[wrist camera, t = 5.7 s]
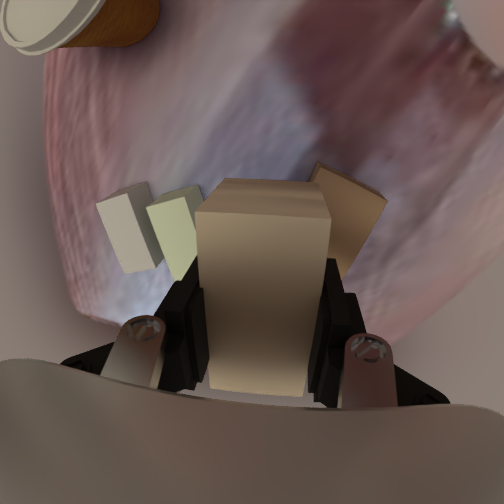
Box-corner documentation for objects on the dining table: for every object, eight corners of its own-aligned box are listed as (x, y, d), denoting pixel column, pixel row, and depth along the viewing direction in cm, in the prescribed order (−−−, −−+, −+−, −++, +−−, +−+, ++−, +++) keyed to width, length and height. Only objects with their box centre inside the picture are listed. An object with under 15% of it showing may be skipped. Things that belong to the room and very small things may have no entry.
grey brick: (117, 190, 27) (95, 203, 24) (147, 180, 27) (126, 193, 23) (142, 254, 30) (124, 273, 27) (171, 248, 30) (155, 268, 26)
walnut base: (317, 160, 24) (320, 166, 22) (378, 191, 25) (387, 201, 22) (274, 249, 28) (272, 264, 26) (331, 273, 29) (334, 290, 26)
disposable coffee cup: (196, -17, 18) (135, -80, 7) (149, 74, 22) (59, 64, 11) (113, -29, 17) (35, -67, 6) (74, 53, 21) (-19, 49, 11)
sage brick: (164, 193, 27) (145, 207, 24) (198, 183, 26) (184, 196, 23) (188, 260, 30) (174, 281, 26) (221, 254, 29) (211, 275, 26)
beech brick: (225, 178, 11) (194, 211, 8) (318, 182, 11) (331, 219, 8) (228, 324, 15) (210, 388, 11) (301, 330, 14) (302, 396, 11)
